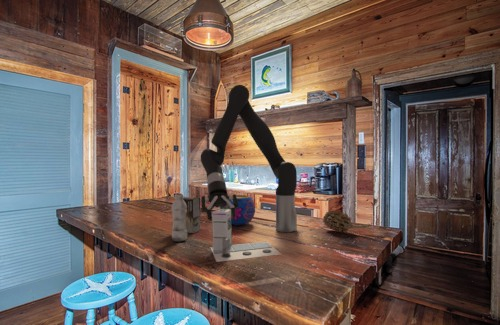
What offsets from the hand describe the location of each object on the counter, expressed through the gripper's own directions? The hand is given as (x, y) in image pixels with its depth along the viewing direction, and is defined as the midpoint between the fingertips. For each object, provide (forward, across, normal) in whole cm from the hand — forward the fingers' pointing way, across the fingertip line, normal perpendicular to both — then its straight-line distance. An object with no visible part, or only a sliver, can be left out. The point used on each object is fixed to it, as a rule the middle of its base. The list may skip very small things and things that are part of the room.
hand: (222, 219), depth 98 cm
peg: (+14, 0, +2) cm, 14 cm away
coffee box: (-15, -10, +32) cm, 37 cm away
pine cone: (+5, +60, +14) cm, 61 cm away
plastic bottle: (-4, -15, +22) cm, 27 cm away
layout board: (+12, +7, +5) cm, 15 cm away
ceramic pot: (-18, +16, +36) cm, 43 cm away
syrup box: (+8, 0, +7) cm, 11 cm away
